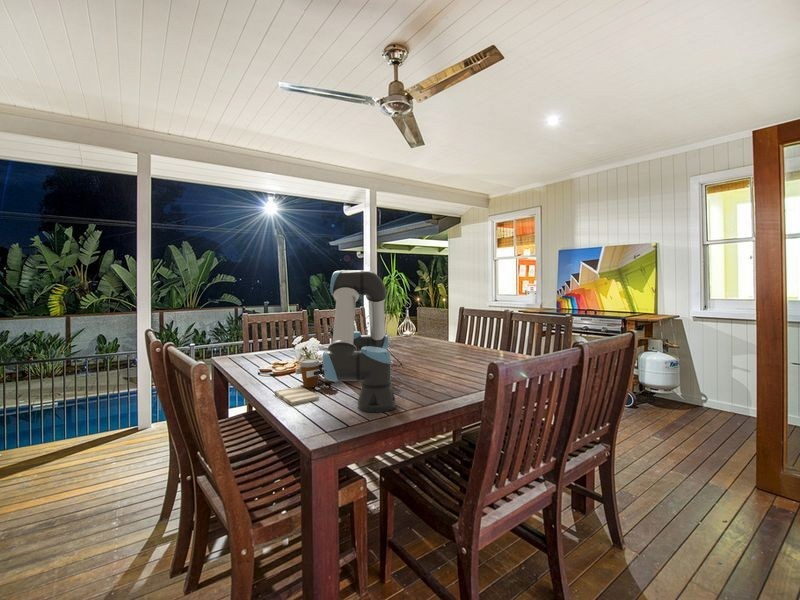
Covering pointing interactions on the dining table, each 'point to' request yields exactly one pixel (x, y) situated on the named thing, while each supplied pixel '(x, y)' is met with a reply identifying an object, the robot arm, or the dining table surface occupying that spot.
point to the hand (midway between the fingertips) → (301, 373)
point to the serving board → (296, 395)
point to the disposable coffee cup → (308, 366)
